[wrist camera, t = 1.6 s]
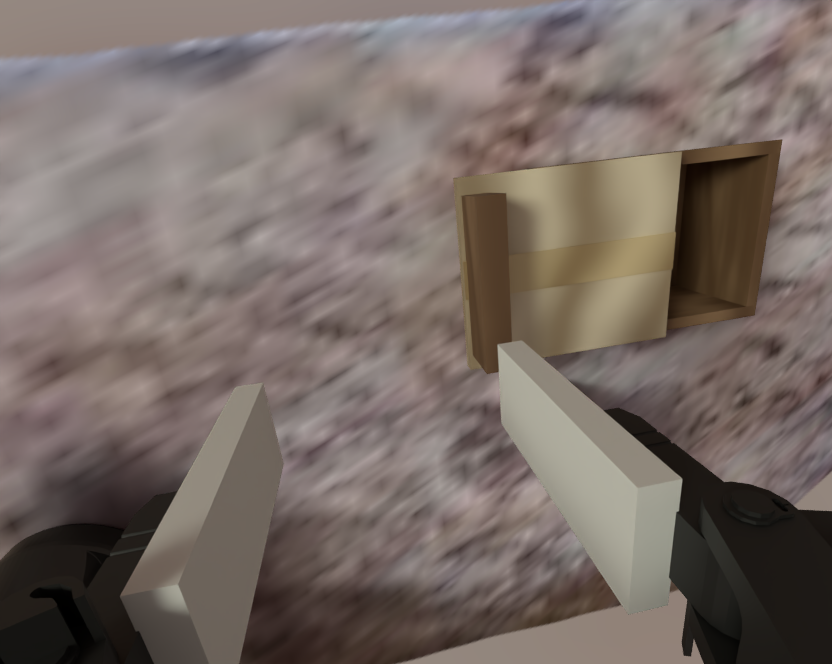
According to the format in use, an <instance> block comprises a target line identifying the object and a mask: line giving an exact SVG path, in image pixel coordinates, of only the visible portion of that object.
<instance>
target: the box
mask: <svg viewBox="0 0 832 664" xmlns="http://www.w3.org/2000/svg"><path fill="white" fill-rule="evenodd" d="M781 145H782V140H773V141H764V142H755V143H746V144H737V145H728V146H719V147H710V148H701V149H692V150H684V151H682V156H681V168H680V179H679V191H678V202H677V213H676V225H675V232H676V237H675V249H674V260H673V269H672V270H671V281H670V293H669V304H668V315H667V327H666V330H670V329H676V328H682V327H688V326H694V325H700V324H706V323H712V322H718V321H724V320H730V319H736V318H742V317H747V316H753V315H755V309H756V302H757V296H758V290H759V283H760V277H761V271H762V265H763V258H764V252H765V246H766V239H767V233H768V227H769V220H770V214H771V208H772V201H773V195H774V189H775V183H776V176H777V170H778V164H779V157H780V151H781ZM675 152H681V151H675ZM667 153H672V152H667ZM658 154H663V153H658ZM650 155H655V154H650ZM641 156H646V155H641ZM633 157H638V156H633ZM624 158H629V157H624ZM616 159H621V158H616ZM607 160H612V159H607ZM599 161H604V160H599ZM590 162H595V161H590ZM582 163H587V162H582ZM573 164H578V163H573ZM565 165H570V164H565ZM556 166H561V165H556ZM548 167H553V166H548ZM539 168H544V167H539ZM531 169H536V168H531Z"/></svg>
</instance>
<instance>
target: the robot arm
mask: <svg viewBox="0 0 832 664" xmlns="http://www.w3.org/2000/svg"><path fill="white" fill-rule="evenodd" d="M498 363H499V383H500V403H501V423H502V425H503V427H504V428H505V430H506V431H507V433H508V434H509V436H510V437H511V439H512V440H513V442H514V443H515V445H516V446H517V448H518V449H519V451H520V452H521V454H522V455H523V457H524V458H525V460H526V461H527V463H528V464H529V466H530V467H531V469H532V470H533V472H534V473H535V475H536V476H537V478H538V479H539V481H540V482H541V484H542V485H543V487H544V488H545V490H546V491H547V493H548V494H549V496H550V497H551V499H552V500H553V502H554V503H555V505H556V506H557V508H558V510H559V511H560V513H561V514H562V516H563V517H564V519H565V520H566V522H567V523H568V525H569V526H570V528H571V529H572V531H573V532H574V534H575V535H576V537H577V538H578V540H579V541H580V543H581V544H582V546H583V547H584V549H585V550H586V552H587V553H588V555H589V556H590V558H591V559H592V561H593V562H594V564H595V565H596V567H597V568H598V570H599V571H600V573H601V574H602V576H603V577H604V579H605V580H606V582H607V583H608V585H609V586H610V588H611V589H612V591H613V592H614V594H615V595H616V597H617V598H618V600H619V601H620V603H621V604H622V606H623V607H624V609H625V610H626V612H627V613H628V615H629V614H633V613H638V612H642V611H646V610H650V609H654V608H658V607H662V606H666V605H668V599H669V591H670V582H671V580H672V582H673V583H674V584H675V585H676V586H677V588H678V589H679V590H680V591H681V592H682V594H683V595H684V596H685V597H686V598H687V608H686V615H685V622H684V629H683V637H682V647H683V654H684V656H691V652H692V646H693V639H694V640H695V642H696V645H697V647H698V650H699V652H700V655H701V658H702V660H703V662H704V664H832V511H813V510H798V509H797V508H795V507H794V506H793V505H792V504H791V503H790V502H788V501H787V500H786V499H784V498H782V497H780V496H778V495H776V494H775V493H773V492H771V491H769V490H766V489H763V488H760V487H757V486H754V485H751V484H745V483H737V482H723V481H722V480H721V479H719V478H718V477H717V476H716V475H714V474H713V473H712V472H710V471H709V470H708V469H707V468H705V467H704V466H703V465H701V464H700V463H699V462H698V461H696V460H695V459H694V458H692V457H691V456H690V455H689V454H687V453H686V452H685V451H683V450H682V449H681V448H680V447H678V446H677V445H676V444H674V443H671V442H670V440H669V439H668V438H667V437H665V436H664V435H663V434H661V433H660V432H659V433H658V432H657V430H656V429H655V428H654V427H652V426H651V425H650V424H649V423H647V422H646V421H645V420H643V419H642V418H641V417H639V416H637V415H634V414H632V413H630V412H627V411H625V410H622V409H620V408H614V409H609V410H604V411H603V410H602V409H601V408H600V407H598V406H597V405H596V404H595V403H594V402H593V401H592V400H590V399H589V398H588V397H587V396H586V395H585V394H583V393H582V392H581V391H580V390H579V389H578V388H576V387H575V386H574V385H573V384H572V383H571V382H569V381H568V380H567V379H566V378H565V377H564V376H563V375H561V374H560V373H559V372H558V371H557V370H556V369H554V368H553V367H552V366H551V365H550V364H549V363H547V362H546V361H545V360H544V359H543V358H542V357H540V356H539V355H538V354H537V353H536V352H535V351H534V350H532V349H531V348H530V347H529V346H528V345H527V344H525V343H524V342H523V341H522V340H521V341H515V342H509V343H503V344H498ZM283 465H284V463H283V459H282V455H281V451H280V447H279V443H278V439H277V435H276V431H275V427H274V423H273V419H272V416H271V412H270V408H269V404H268V400H267V396H266V392H265V388H264V384H263V383H257V384H251V385H245V386H239V387H235V389H234V391H233V392H232V394H231V396H230V398H229V400H228V401H227V403H226V405H225V407H224V409H223V410H222V412H221V414H220V416H219V418H218V419H217V421H216V423H215V425H214V427H213V429H212V430H211V432H210V434H209V436H208V438H207V439H206V441H205V443H204V445H203V447H202V448H201V450H200V452H199V454H198V456H197V457H196V459H195V461H194V463H193V465H192V467H191V468H190V470H189V472H188V474H187V476H186V477H185V479H184V481H183V483H182V485H181V486H180V488H179V490H178V491H177V492H171V493H166V494H161V495H156V496H155V497H154V498H153V499H152V500H150V501H149V502H148V503H147V504H146V505H145V506H144V507H143V508H142V509H140V510H139V511H138V512H137V513H136V514H135V515H134V517H133V518H132V520H131V521H130V523H129V524H128V526H127V527H126V529H125V530H124V531H123V530H119V529H116V528H111V527H106V526H99V525H67V526H60V527H55V528H51V529H47V530H44V531H41V532H38V533H36V534H34V535H32V536H30V537H28V538H26V539H24V540H22V541H21V542H19V543H18V544H17V545H15V546H14V547H13V548H12V549H11V550H10V551H9V552H8V553H7V554H6V555H5V556H4V557H3V558H2V559H1V560H0V664H239V662H240V657H241V653H242V648H243V644H244V639H245V635H246V630H247V626H248V621H249V617H250V612H251V608H252V603H253V599H254V594H255V590H256V586H257V581H258V577H259V572H260V568H261V563H262V559H263V554H264V550H265V545H266V541H267V536H268V532H269V527H270V523H271V518H272V514H273V509H274V505H275V500H276V496H277V491H278V487H279V483H280V478H281V474H282V469H283Z"/></svg>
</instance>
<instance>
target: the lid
mask: <svg viewBox="0 0 832 664" xmlns="http://www.w3.org/2000/svg"><path fill="white" fill-rule="evenodd" d="M681 156H682V151H681V152H672V153H663V154H655V155H646V156H638V157H629V158H621V159H612V160H604V161H595V162H587V163H578V164H570V165H561V166H553V167H544V168H536V169H527V170H519V171H510V172H502V173H493V174H485V175H476V176H468V177H459V178H453V180H454V193H455V206H456V219H457V232H458V245H459V258H460V271H461V284H462V297H463V310H464V323H465V336H466V349H467V362H468V366H469V368H470V369H471V370H472V369H478V368H483V369H484V371H485V372H486V373H487V374H489V373H495V372H499V363H498V344H503V343H509V342H515V341H521V340H522V341H523V342H524V343H525V344H527V345H528V346H529V347H530V348H531V349H532V350H534V351H535V352H536V353H537V354H538V355H539V356H540V357H542V358H544V357H549V356H555V355H561V354H567V353H573V352H579V351H585V350H591V349H597V348H603V347H609V346H615V345H621V344H626V343H632V342H638V341H644V340H650V339H656V338H662V337H666V327H667V315H668V304H669V293H670V281H671V270H672V269H673V260H674V249H675V237H676V232H675V225H676V213H677V202H678V191H679V179H680V168H681Z"/></svg>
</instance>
